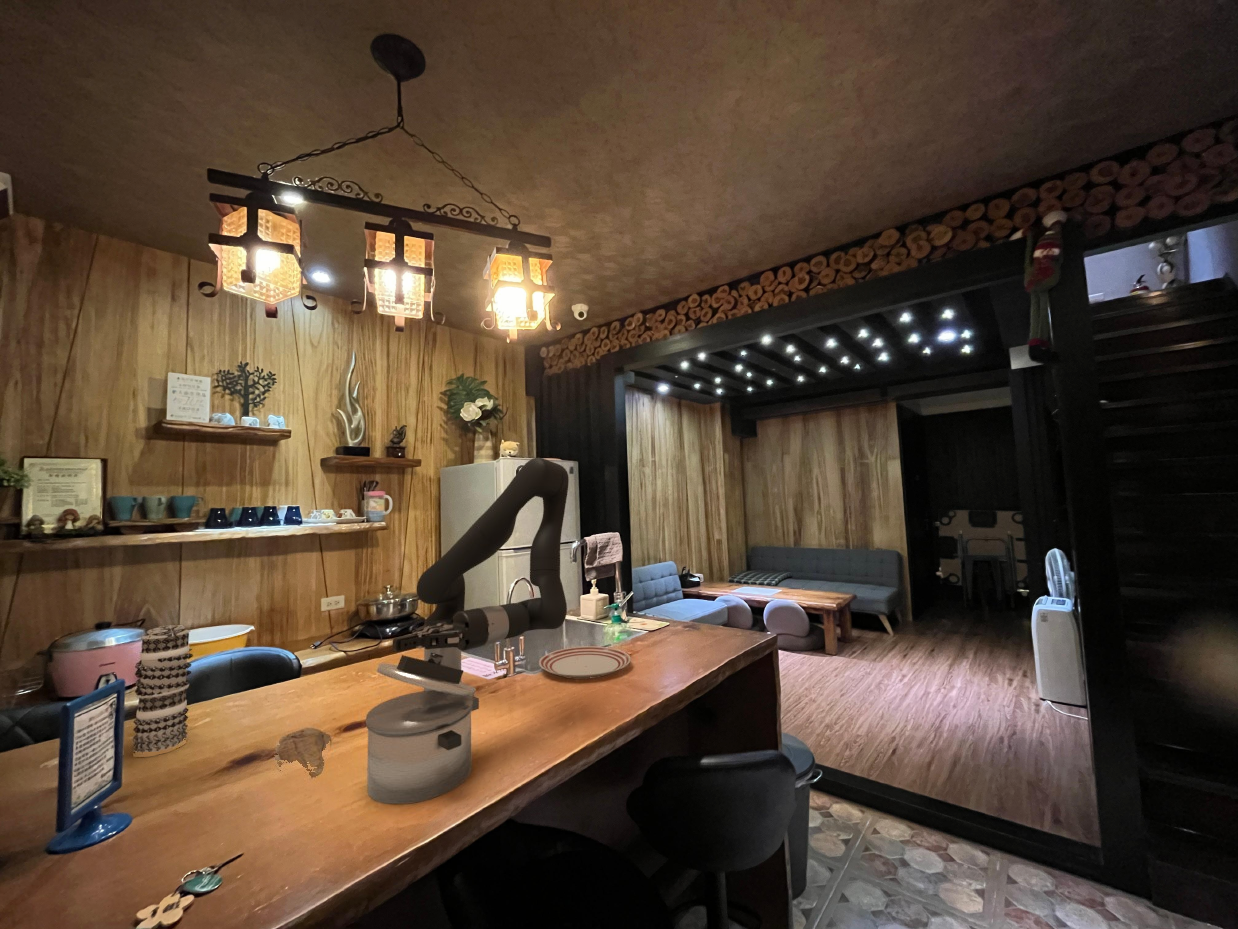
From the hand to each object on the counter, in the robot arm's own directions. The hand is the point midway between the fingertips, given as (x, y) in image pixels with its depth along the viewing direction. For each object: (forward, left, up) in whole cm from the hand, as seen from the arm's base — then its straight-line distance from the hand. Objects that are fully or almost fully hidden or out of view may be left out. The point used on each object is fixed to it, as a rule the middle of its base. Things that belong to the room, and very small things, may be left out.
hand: (394, 645), depth 89 cm
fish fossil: (-21, -20, -25) cm, 38 cm away
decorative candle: (-36, -50, -24) cm, 66 cm away
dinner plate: (-53, +46, -24) cm, 74 cm away
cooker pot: (-3, +4, -24) cm, 25 cm away
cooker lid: (-3, +5, -8) cm, 10 cm away
